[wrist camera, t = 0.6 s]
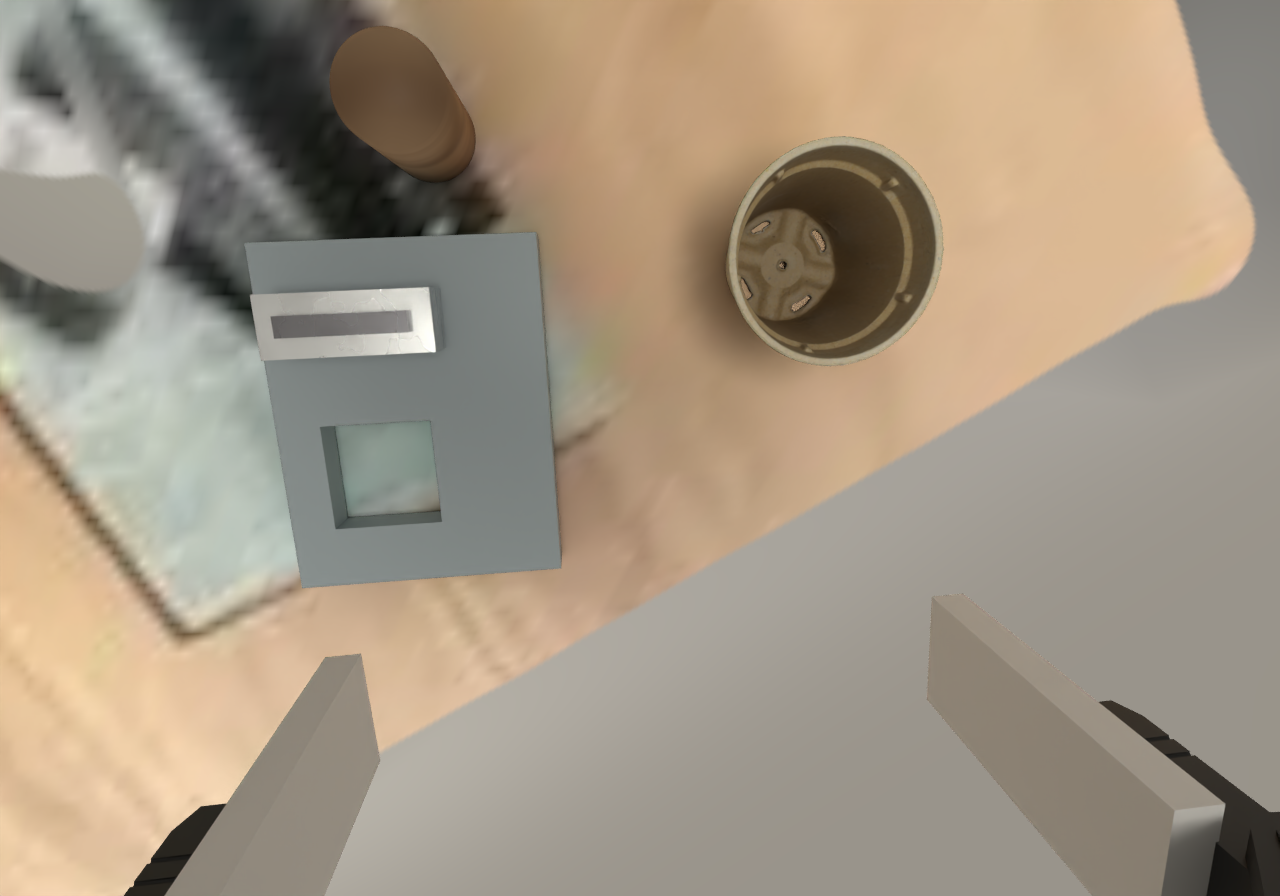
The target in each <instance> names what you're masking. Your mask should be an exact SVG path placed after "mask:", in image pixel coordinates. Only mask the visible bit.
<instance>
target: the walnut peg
mask: <svg viewBox="0 0 1280 896" xmlns="http://www.w3.org/2000/svg"><path fill="white" fill-rule="evenodd" d="M330 92H331V97H332V100H333V103H334V106H335V109H336V111H337V113H338V115H339V116H340V118H341V120H342V121H343V122H344V124H345V125H346V126H347V127H348V128H349V129H350V130H351V131H352V132H353V133H354V134H355V135H356V136H358V137H359V138H360V139H361V140H363V141H364V142H366V143H367V144H368V145H370V146H371V147H372V148H374V149H375V150H376V151H378V152H379V153H381V154H382V155H383V156H385V157H386V158H387V159H389V160H390V161H392V162H393V163H394V164H396V165H397V166H398V167H400V168H401V169H402V170H404V171H405V172H407V173H408V174H409V175H411V176H413V177H415V178H417V179H419V180H422V181H426V182H444V181H448V180H450V179H453V178H454V177H456V176H458V175H459V174H460V173H461V172H462V171H463V170H464V169H465V168H466V167H467V166H468V164H469V163H470V161H471V159H472V156H473V153H474V149H475V130H474V126H473V123H472V120H471V118H470V116H469V114H468V112H467V111H466V109H465V107H464V106H463V104H462V102H461V101H460V99H459V97H458V95H457V94H456V92H455V90H454V89H453V87H452V85H451V84H450V82H449V80H448V79H447V77H446V75H445V73H444V72H443V70H442V68H441V67H440V65H439V63H438V62H437V60H436V58H435V57H434V55H433V54H432V52H431V51H430V50H429V49H428V48H427V47H426V45H425V44H424V43H422V42H421V41H420V40H419V39H418V38H416V37H415V36H413V35H412V34H410V33H408V32H406V31H403V30H400V29H398V28H393V27H388V26H376V27H370V28H366V29H363V30H361V31H359V32H357V33H355V34H353V35H352V36H351V37H349V38H348V39H347V40H346V41H345V42H344V43H343V44H342V45H341V47H340V48H339V50H338V51H337V53H336V55H335V57H334V60H333V63H332V66H331V71H330Z"/></svg>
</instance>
